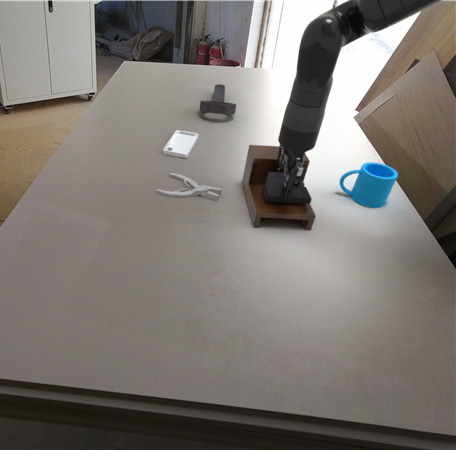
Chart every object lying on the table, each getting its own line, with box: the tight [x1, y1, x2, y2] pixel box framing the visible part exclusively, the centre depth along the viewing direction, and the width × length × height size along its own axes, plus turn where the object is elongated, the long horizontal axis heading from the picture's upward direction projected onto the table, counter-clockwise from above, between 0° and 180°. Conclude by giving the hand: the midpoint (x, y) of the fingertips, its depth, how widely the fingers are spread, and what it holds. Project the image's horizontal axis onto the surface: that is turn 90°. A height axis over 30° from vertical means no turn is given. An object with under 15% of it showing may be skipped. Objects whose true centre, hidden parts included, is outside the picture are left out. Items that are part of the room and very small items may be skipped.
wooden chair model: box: [241, 144, 316, 231], centre depth 95 cm, size 13×19×11 cm
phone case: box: [162, 129, 199, 159], centre depth 121 cm, size 7×1×15 cm
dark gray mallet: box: [199, 83, 237, 115], centre depth 146 cm, size 12×8×30 cm
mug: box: [338, 162, 399, 209], centre depth 100 cm, size 12×8×8 cm
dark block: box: [262, 172, 313, 205], centre depth 91 cm, size 10×5×5 cm, turn 88°
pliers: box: [156, 172, 223, 202], centre depth 101 cm, size 10×2×15 cm
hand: (282, 193), depth 92 cm, fingers closed on dark block, 5 cm apart
